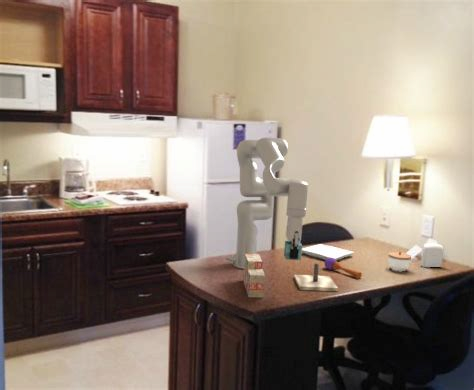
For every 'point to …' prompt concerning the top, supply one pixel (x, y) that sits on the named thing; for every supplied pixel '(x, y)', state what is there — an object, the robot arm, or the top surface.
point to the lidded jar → (399, 261)
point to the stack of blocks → (254, 275)
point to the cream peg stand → (315, 281)
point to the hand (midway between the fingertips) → (292, 255)
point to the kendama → (340, 267)
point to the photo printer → (432, 255)
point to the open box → (287, 250)
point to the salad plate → (326, 252)
